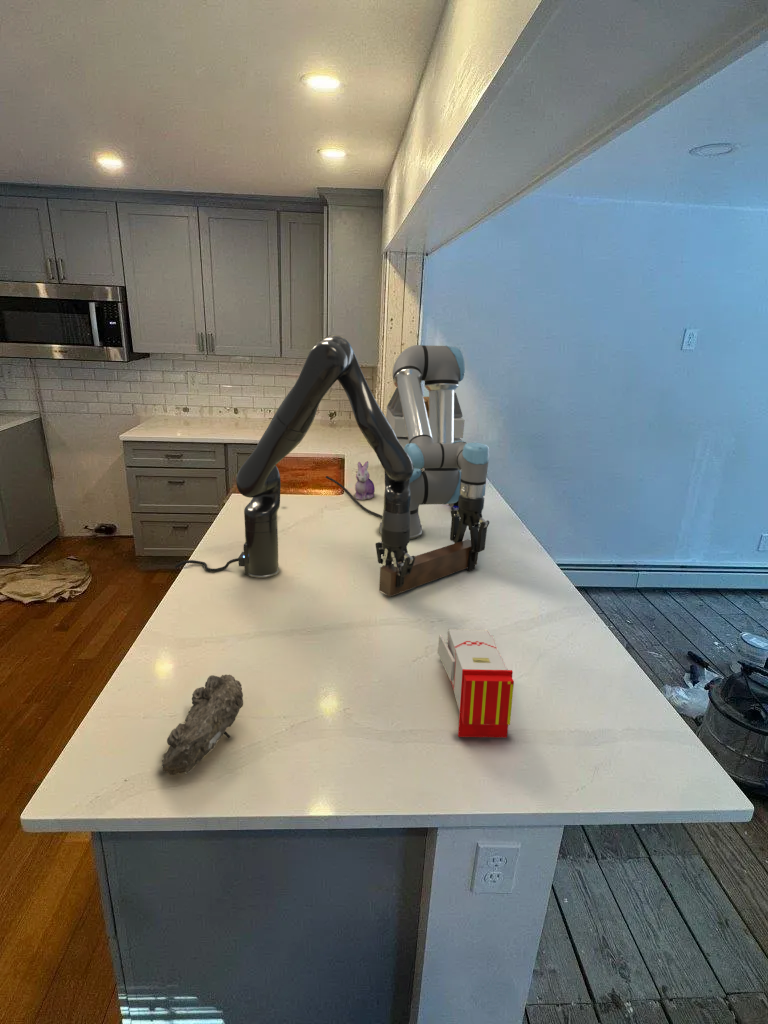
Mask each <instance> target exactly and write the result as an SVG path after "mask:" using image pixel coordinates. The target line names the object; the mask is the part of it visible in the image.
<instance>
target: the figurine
mask: <svg viewBox="0 0 768 1024" xmlns="http://www.w3.org/2000/svg"><path fill="white" fill-rule="evenodd" d="M368 468H369V460H367V461H365V463H364V464H363V465H362V462H360V461H358V462H357V472H356V474H355V478H356V480H357V481H356V483H355V488H354V489H355V493H354V498H355V499H356V500H361V501H362V500H363V501H364V500H370V499H372V498H374V496H375V491H376V488H375V484H374V482H373V481H372V479H370V473H369V471H368Z"/></svg>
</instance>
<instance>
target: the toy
mask: <svg viewBox="0 0 768 1024" xmlns="http://www.w3.org/2000/svg"><path fill="white" fill-rule="evenodd" d="M446 640H447V643H446V641H445V639H444V636H443V635H442V634H439V637H438V646H437V656H438V657H439V659H440V661H441V663H442V666H443V668H444V670H445V672H446V674H447V677H448V679H449V681H450V684H451V687H452V690H453V693H454V697H455V701H456V705H457V708H458V711H459V714H458V715H459V716H458V730H457V731H458V732H457V737H458V738H508V731H509V726H510V725H511V717H512V707H513V697H514V696H513V695H514V684H515V680H514V679H513V673H514V671H513V670H512V669H508V667H507V665H506V662H505V661H504V659H503V658H502V655H501V653H500V651H499V649H498V647H497V643H496V639H495V637H494V635H493V634H491V632H490V631H489V629H467V628H466V629H465V628H463V629H461V628H460V629H459V628H448V630H447V639H446Z"/></svg>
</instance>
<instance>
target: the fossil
mask: <svg viewBox="0 0 768 1024" xmlns="http://www.w3.org/2000/svg"><path fill="white" fill-rule="evenodd" d="M243 696H244V694H243V687H242V684H241V682H240V680H237V679H236V678H235V677H234V676H233V675H232V674H222V675H221V676H217V675H209V676H208V677H207V678H206V681H205V684H204V686H201V687H197V688H195V690H193V693H192V697H191V704H192V705H191V707H190V709H189V710H188V713H187V715H186V716H185V719H184V723H178V724H177V726H176V727H175V728H173V729H172V730H171V731H170V734H169V735H168V737H167V738H166V743H167V745H168V748H167V750H166V752H165V753H163V755H162V757H163V759H161V766H162V771H163V773H168V774H169V775H170V776H174V775H178V774H183V773H185V774H189V773H190V772H191V771H192V770H193V769H194V767H196V766H197V765H198V764H199V763H200V762H202V760H203V759H204V758H205V757H206V756H207V755H208V754H209V753H210V752H211V751H213V750H214V749H215V747H216V746H217V743H218V741H220V740H221V739H222V737H223V736H225V737H226V738H228V739H230V738H231V735H230V734H229V733H228V732H227V729H228V728H231V727H232V725H233V724H234V723H235V722H236V719H237V717H238V714H239V713H240V710H241V709H242V708H243V707H244V699H243V698H244V697H243Z"/></svg>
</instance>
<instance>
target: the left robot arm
mask: <svg viewBox="0 0 768 1024" xmlns="http://www.w3.org/2000/svg"><path fill="white" fill-rule="evenodd" d="M337 381H338V383H339V384H340V385H341V387H342V389H343V390H344V392H345V394H346V396H347V399H348V402H349V405H350V408H351V411H352V413H353V417H354V420H355V422H356V424H357V426H358V428H359V430H360V432H361V433H362V435H363V437H364V439H365V440H366V442H367V443H368V445H369V446H370V447H371V449H372V450H373V451H374V453H375V455H376V457H377V458H378V461H379V463H380V464H381V467H382V468H383V470H384V494H383V511H382V518H381V522H382V535H381V537H380V538H381V539H380V541H378V542H375V551H376V558H377V563H378V564H379V565H381V567H383V566H387V565H390V564H394V567H395V568H396V573H397V575H396V587H397V588H399V587H402V586H403V585H404V576H405V575H408V574H411V570H412V567H413V564H414V561H415V557H414V555H410V554H409V551H408V548H407V547H408V545H409V543H410V540H409V538H410V520H411V517H410V503H411V493H410V488H409V484H410V478H411V476H412V474H413V471H414V466H413V462H412V460H411V458H410V456H409V455H408V453H407V452H405V450H404V449H403V447H402V446H401V444H400V443H399V441H398V440H397V437H396V435H395V432H394V430H393V429H392V427H391V425H390V424H389V422H388V420H387V419H386V415H385V414H384V412H383V411H382V409H381V407H380V405H379V404H378V402H377V400H376V398H375V396H374V394H373V392H372V391H371V389H370V386H369V384H368V382H367V380H366V378H365V376H364V373H363V371H362V369H361V366H360V364H359V361H358V359H357V356H356V354H355V351H354V349H353V347H352V346H351V344H350V342H349V341H348V340H347V338H345V337H344V336H341V335H338V334H330V335H327V336H325V337H324V338H322V339H321V340H319V341H318V342H317V343H315V344H314V345H313V346H312V347H311V349H310V351H309V353H308V355H307V357H306V360H305V362H304V364H303V366H302V368H301V370H300V373H299V376H298V377H297V379H296V382H295V383H294V385H293V386H292V388H291V389H290V391H289V392H288V393H287V395H286V396H285V398H284V399H283V400H282V402H281V404H280V405H279V407H278V408H277V410H276V412H275V413H274V415H273V416H272V418H271V420H270V422H269V424H268V426H267V428H266V429H265V431H264V432H263V434H262V436H261V438H260V439H259V441H258V443H257V445H256V446H255V447H254V449H253V451H252V452H251V454H250V455H249V456H248V457H247V459H246V460H245V461H244V462H243V464H242V465H241V466H240V468H239V470H238V472H237V474H236V477H235V478H236V479H235V483H236V485H235V486H236V488H237V491H238V492H239V493H240V495H242V496H243V497H246V498H248V499H251V500H250V501H249V502H248V504H247V505H246V506H245V507H244V510H243V516H244V518H243V519H244V520H243V521H244V540H245V542H244V543H243V551H241V553H240V555H239V556H238V557H236V558H233V559H230V560H227V562H226V564H225V565H224V566H221V567H218V568H210V567H208V564H207V562H205V561H200V560H196V559H195V560H194V559H189V560H188V559H187V560H182V561H180V562H179V563H176V564H175V566H174V568H176V569H177V568H179V567H180V566H183V565H185V564H196V565H202V566H204V570H205V571H207V572H213V573H214V572H215V573H216V572H221V571H225V570H226V569H227V568H228V567H229V566H230V565H231V564H233V563H236V562H238V567H244V568H243V569H244V576H249V577H251V578H255V579H266V578H272V577H274V576H276V575H277V574H279V572H280V565H279V564H280V563H279V532H278V531H279V528H278V513H279V512H278V511H279V509H280V506H281V487H282V486H281V483H282V482H281V481H282V480H281V474H280V471H279V468H278V467H277V465H278V463H280V462H281V461H282V460H283V459H284V458H286V457H287V456H288V455H289V454H290V453H292V451H294V450H295V449H296V447H298V445H300V443H301V442H302V441H303V439H304V437H305V436H306V434H307V433H308V432H309V430H310V428H311V427H312V425H313V422H314V420H315V418H316V416H317V412H318V408H319V406H320V403H321V402H322V400H323V398H324V397H325V396H326V394H327V393H328V392H329V391H330V389H331V388H332V387H333V385H334V384H335V383H336V382H337ZM398 562H401V563H399V564H398ZM400 567H401V569H402V570H401V571H400Z"/></svg>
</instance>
